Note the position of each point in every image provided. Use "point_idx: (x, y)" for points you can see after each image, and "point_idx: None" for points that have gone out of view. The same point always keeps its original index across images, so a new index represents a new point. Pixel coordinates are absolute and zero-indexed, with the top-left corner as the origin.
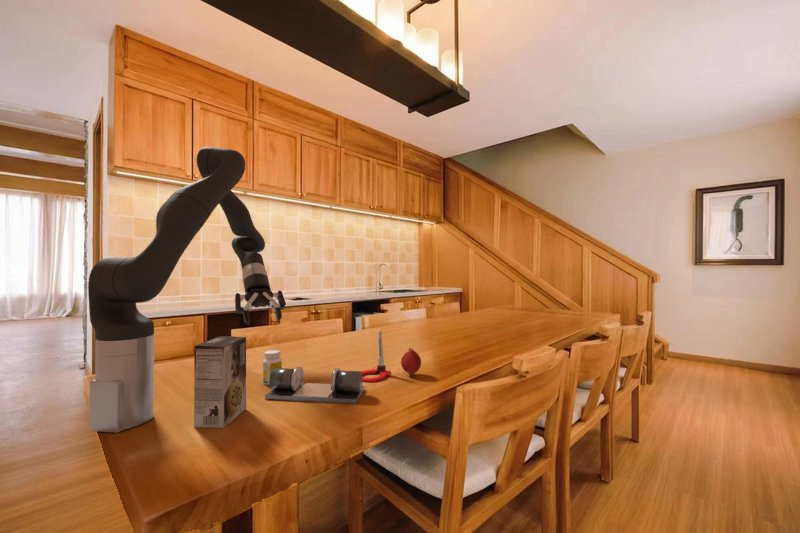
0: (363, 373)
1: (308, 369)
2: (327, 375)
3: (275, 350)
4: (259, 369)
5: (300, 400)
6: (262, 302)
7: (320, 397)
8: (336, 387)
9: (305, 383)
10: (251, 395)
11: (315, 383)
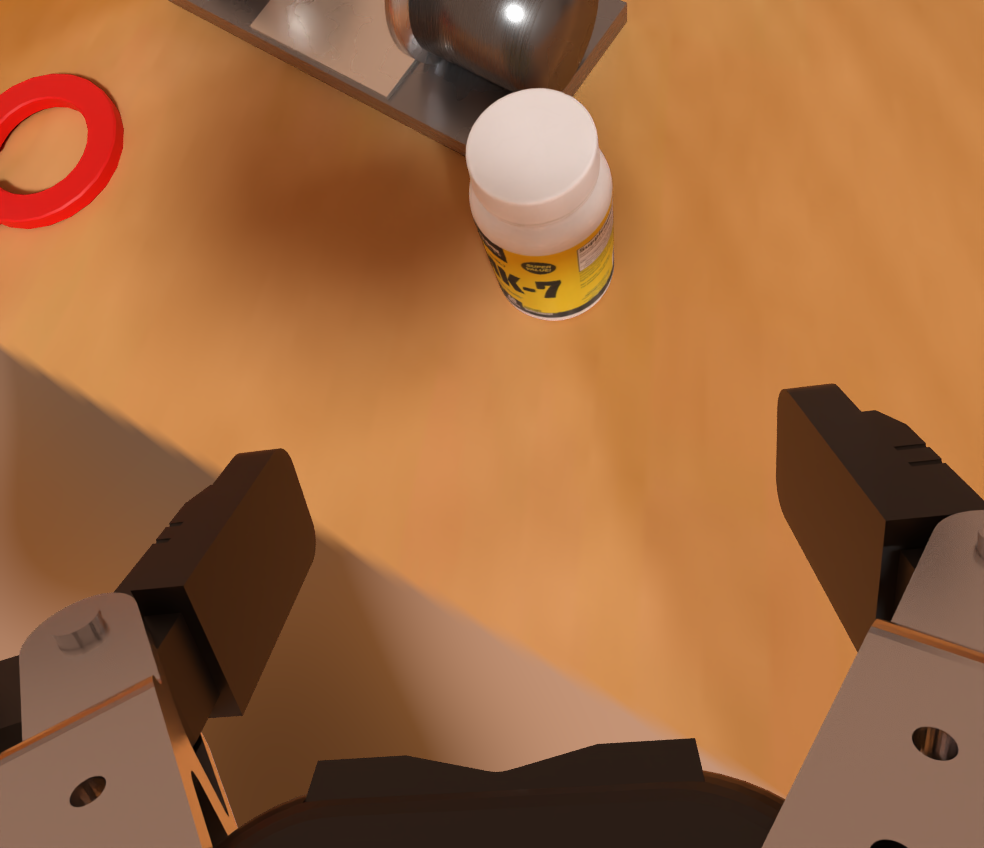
0: (54, 187)
1: None
2: (223, 276)
3: (498, 175)
4: (609, 640)
5: None
6: (454, 782)
7: None
8: None
9: (392, 105)
10: (693, 98)
11: (346, 73)
